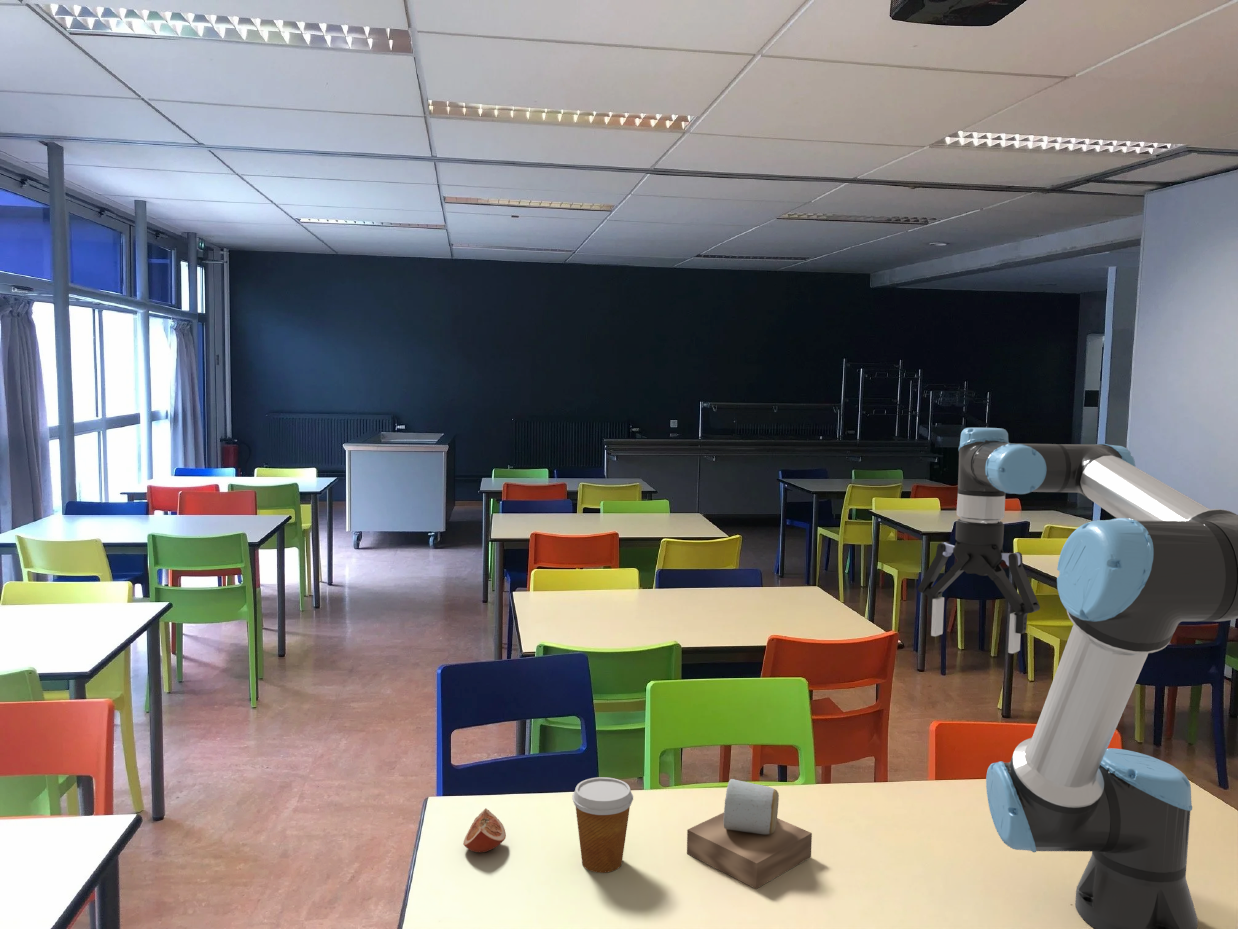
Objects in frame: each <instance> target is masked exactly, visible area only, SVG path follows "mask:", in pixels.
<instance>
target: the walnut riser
mask: <svg viewBox="0 0 1238 929" xmlns="http://www.w3.org/2000/svg"><path fill="white" fill-rule="evenodd" d="M723 820H724V812H722V813H719V814H718V815H716V816H713V817H711V818H709V819H707V820H705V821H702V822H701V823H698V824H696V825H694V826H692V827H690V828H687V830H686V831H687V832H686V835H687V836H686V854H687V855H689V856H691V857H693V858H695V860H696V859H697V860H699V861H700V862H702V863H704V864H706V865H708V866H710V867H712V868H714V869H716V870H718V871H720V872H722V873H724V874H726V875H728V876H730V877H731V878H734V879H736V880H738V881H740V882H742V883H744V884H746V885H747V886H749V887H751V888H753V889H755V890H757V889H759V888H760V887H762V886H764V885H765V884H767V883H769V882H770V881H772V880H774V879H777V877H778V878H779V876H781V875H784V874H785V873H786V872H788V871H790V870H792V869H793V868H794V867H797V866H798V865H800V864H802V863H804V862H805V861H807V860H808V859H810V858H812V845H813V844H812V841H813V840H812V839H813V833H812V831H811V832H810V831H809V830H806V829H804V828H802V827H799V826H797V825H794V824H792V823H789V822H787V821H785V820H782V819H780V818H778V817H777V822H776V828H775V832H774V833H772V834H757V833H750V832H742V831H736V830H729V829H725V828H724V824H723V823H724V821H723Z"/></svg>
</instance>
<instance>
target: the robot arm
mask: <svg viewBox="0 0 1238 929" xmlns="http://www.w3.org/2000/svg"><path fill="white" fill-rule="evenodd" d="M1131 453H1132V452H1131V451H1130V450H1129V449H1128V448H1127V447H1124V446H1122V445H1116V444H1115V445H1113V444H1106V443H1097V444H1090V443H1089V444H1086V443H1085V444H1081V443H1080V444H1077V443H1076V444H1072V443H1071V444H1069V443H1068V444H1066V443H1065V444H1062V443H1061V444H1060V443H1059V444H1056V443H1053V444H1052V443H1011V442H1009V433H1008V431H1007V430H1006V429H1004V428H1002V427H1001V428H997V427H965V428H963V430H962V431H961V433H960V441H959V446H958V477H957V479H958V480H957V498H956V500H957V501H956V503H957V504H956V512H955V513H956V514H955V515H956V516H957V517H958V519H957V520H956V522H955V523H956V524H955V543H954V544H955V545H953V544H951V543H950V542H949V541H946V542H944V541H943V542H940V543H938V544H937V546H936V551H935V556H934V558H933V560H932V561H931V564H930V565H929V567H928V569H927V571H926V572H925V574H924V575H923V578H922V579H921V580H920V583H919V585H918V588H917V591H918V592H919V593H921V594H922V593H923V594H924V595H926V596H927V615H928V616H931V628H930V630H931V631H930V636H931V637H938V636H940V635H943V632H944V613H945V612H944V610H945V597H943V596H942V594H943V593H944V592H945V590H946V589H947V588H948V587H949V586H950V585H951V584H952V583H953V582H955V580H956V579H957V578H959V576H960V575H962V573H963V572H965V573H966V574H969V575H971V574H972V575H973V574H976V575H978V576H980V577H981V576H982V577H984V576H988V578H989V579H990V580H991V581H993V582H994V584H995V585H996V587H997V589H999V591H1000V592H1001V594H1002V596H1003V597H1004V598H1005V599H1006V602H1007V603H1008V604H1009V605H1010V607H1011V608H1012V610H1013V612H1011V613H1009V624H1008V625H1009V628H1008V647H1007V648H1008V649H1007V653H1009V654H1011V655H1013V654H1016V653H1017V652H1019V651H1021V635H1022V634H1026V631H1027V626H1028V625H1027V624H1028V614H1032V613H1035V612H1037V611H1039V610H1040V609H1041V606H1040V603H1039V601H1038V599H1037V597H1036V594H1035V591H1034V589H1033V587H1032V584H1031V582H1030V580H1029V577H1028V574H1027V572H1026V570H1025V568H1024V566H1023V565H1024V564H1023V562H1024V561H1023V554H1022V553H1021V552H1020V551H1017V552H1013V553H1011V552H1009V553H1008V552H1004V550H1003V545H1004V535H1005V533H1004V532H1005V523H1003V521H1001V520H1003V519H1004V518H1005V512H1006V511H1005V510H1006V509H1005V508H1006V494H1009V495H1012V494H1014V495H1015V494H1016V495H1026V494H1030V493H1032V492H1033V493H1036V492H1037V493H1077V494H1081V495H1082V496H1084V497H1086V498H1087V499H1089V500H1091V501H1092V502H1093V503H1094V504H1096V505H1097V506H1098V507H1100V508H1102V509H1103V510H1105V511H1106V512H1107V513H1109V514H1110V515H1111V516H1113V517H1114V518H1112V519H1105V520H1104V519H1103V520H1101V519H1100V520H1092V521H1090V522H1085V523H1083V524H1082V525H1080V526H1079V527H1077V528H1076V529H1074V531H1073V532H1072V533H1071V534H1070V535H1069V536H1068V538H1067V539H1066V540H1065V543H1064V544H1063V547H1062V548H1061V551H1060V554H1059V556H1058V557H1059V558H1058V562H1057V567H1056V570H1057V571H1059V575H1058V576H1057V578H1056V586H1057V587H1056V589H1057V592H1058V597H1059V598H1060V602H1061V604H1062V605H1063V607H1064V609H1065V610H1066V613H1067V616H1068V619H1069V620H1070V621H1071V623H1072V624H1073V625H1072V627H1071V631H1070V633H1069V636H1068V638H1067V642H1066V643H1065V647H1064V650H1063V652H1062V655H1061V658H1060V660H1059V663H1058V666H1057V669H1056V670H1055V674H1054V677H1053V680H1052V683H1051V685H1050V688H1049V690H1048V693H1047V696H1046V698H1045V701H1044V704H1043V707H1042V710H1041V713H1040V715H1039V718H1038V721H1037V723H1036V726H1035V728H1034V731H1033V735H1032V737H1030V738H1027V739H1025V740H1023V741H1021V742H1020V743H1018V744H1017V746H1016V747H1015V749H1014V751H1013V753H1012V756H1011V759H1010V761H1009V762H1004V761H997V762H992V763H991V764H990V765H989V766H988V768H987V772H986V778H985V780H986V781H985V787H986V796H987V802H988V808H989V813H990V816H991V819H992V822H993V825H994V828H995V830H996V832H997V835H998V836H999V838H1000V840H1001V841H1002V843H1004V844H1005V845H1006V846H1007V847H1009V848H1010V849H1012V850H1016V851H1028V852H1032V853H1037V852H1091V856H1090V858H1089V860H1088V862H1087V865H1086V867H1085V869H1084V871H1083V873H1082V876H1081V878H1079V879H1080V880H1079V881H1078V883H1077V885H1076V890H1075V900H1074V901H1075V903H1074V904H1075V909H1076V911H1077V913H1078V915H1079V916H1080V917H1081V918H1082V919H1083V920H1084V921H1085V922H1086V923H1087V924H1088V925H1089V926H1090V927H1092V928H1094V929H1198V925H1199V922H1198V921H1199V920H1198V915H1197V912H1196V908H1195V906H1194V905H1195V904H1194V902H1193V898H1192V895H1191V890H1190V887H1189V885H1188V884H1189V883H1188V882H1187V876H1186V875H1187V865H1188V850H1189V839H1190V838H1189V835H1190V824H1191V823H1190V821H1191V811H1192V810H1193V804H1192V788H1191V786H1192V785H1191V782H1190V780H1189V779H1188V777H1187V776H1186V774H1184V773H1183V772H1182V771H1181V770H1180V769H1178V768H1176V767H1175V766H1174V765H1172V764H1170V763H1168V762H1166V761H1164V760H1162V759H1158V758H1156V757H1154V756H1151V755H1148V754H1144V753H1142V752H1141V753H1140V752H1136V751H1133V750H1128V749H1123V748H1122V749H1121V748H1111V747H1109V746H1110V743H1111V742H1112V741H1111V740H1112V738H1113V736H1114V734H1115V732H1116V729H1117V728H1118V724H1119V723H1120V720H1121V717H1122V715H1123V713H1124V710H1125V708H1126V706H1127V704H1128V702H1129V699H1130V697H1131V695H1132V692H1133V691H1134V688H1135V686H1136V683H1137V680H1138V679H1139V676H1140V673H1141V672H1142V669H1143V666H1144V664H1145V662H1146V660H1147V658H1148V655H1149V654H1153V653H1156V652H1159V651H1162V650H1163V649H1165V648H1166V647H1167V646H1168V645H1169V644H1170V642H1171V640H1172V638H1173V635H1174V633H1175V631H1176V629H1177V628H1178V625H1179V624H1180V623H1181V622H1226V621H1233V620H1236V619H1238V514H1236V513H1235V512H1232V511H1230V510H1228V509H1224V508H1223V509H1222V508H1212V509H1211V508H1208V507H1206V506H1205V505H1203V504H1201V503H1199V502H1198V501H1195V500H1194V499H1193V498H1191V497H1189V496H1187V495H1185V494H1184V493H1182V492H1180V491H1178V490H1176V488H1173V487H1172V486H1170V485H1168V484H1167V483H1165V482H1163V481H1161V480H1159V479H1158V478H1156V477H1154V476H1153V475H1150V474H1149V473H1147V472H1145V471H1143V470H1141V469H1139V468H1138V467H1136V462H1135V458H1134V456H1132V454H1131ZM952 554H953V555H954V557H955V558H956V560H957V561H956V562H955V563H954V564H953V565H952V566H951V567H950V568H949V570H948V571H947V572H946V573H945V574H944V575H943V576H942V577H940V579H939V580H938V579H937V578H938V577H939V575H940V573H941V571H942V570H943V568H944V566H945V564H946V563H947V561H948V559H949V557H950V556H952ZM1003 562H1005V564H1006V565H1007V567H1008V568H1009V571H1010V574H1011V576H1012V579H1013V581H1014V583H1015V586H1016V588H1015V586H1014V585H1013V584H1012V582H1011V581H1010V580H1009V577H1007V574H1006V572H1005V570H1004V569H1003V567H1002V566H1001V564H1002V563H1003ZM936 580H938V581H937V582H936ZM935 582H936V583H935Z"/></svg>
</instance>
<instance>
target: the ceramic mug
mask: <svg viewBox="0 0 1238 929" xmlns="http://www.w3.org/2000/svg"><path fill="white" fill-rule="evenodd" d="M725 792H726V793H725V800H724V808H723V813H724V820H723V821H724V823H723V824H724V828H725V829H729V830H736V831H742V832H750V833H757V834H772V833H774V832H775V828H776V822H777V818H778V811H779V801H780V798H779V797H780V796H779V792H778V790H777V789H776V788H773V787H770V786H767V785H762V784H756V783H752V782H748V781H744V780H740V779H739V780H737V779H734V778H730V780H729V781H728V784H727V787H726V791H725Z"/></svg>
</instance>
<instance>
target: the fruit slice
mask: <svg viewBox="0 0 1238 929" xmlns="http://www.w3.org/2000/svg"><path fill="white" fill-rule="evenodd" d="M506 834H507V833H506V829H505V826H504V824H503V823H502V822H501V820H500V819H499V818H498V817H497V816H496V815H494V813H492V812H491V811H490V810H489V809H488V808H484V809H483V810H482V811H481V812H480V813H479V814H478V816H476V817H475V818H474V820H473V821H472V823H471V826H470V828H468V831H467V833H466V835H465V837H464V839H463V846H464V847H465V848H466V849H468V850H469V851H471V852H474V853H486V852H488V851H491V850H493V849H495V848H497V847H499V846H500V845H501V844H502V843H503V842H504V841H505V839H506V837H507V835H506Z"/></svg>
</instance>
